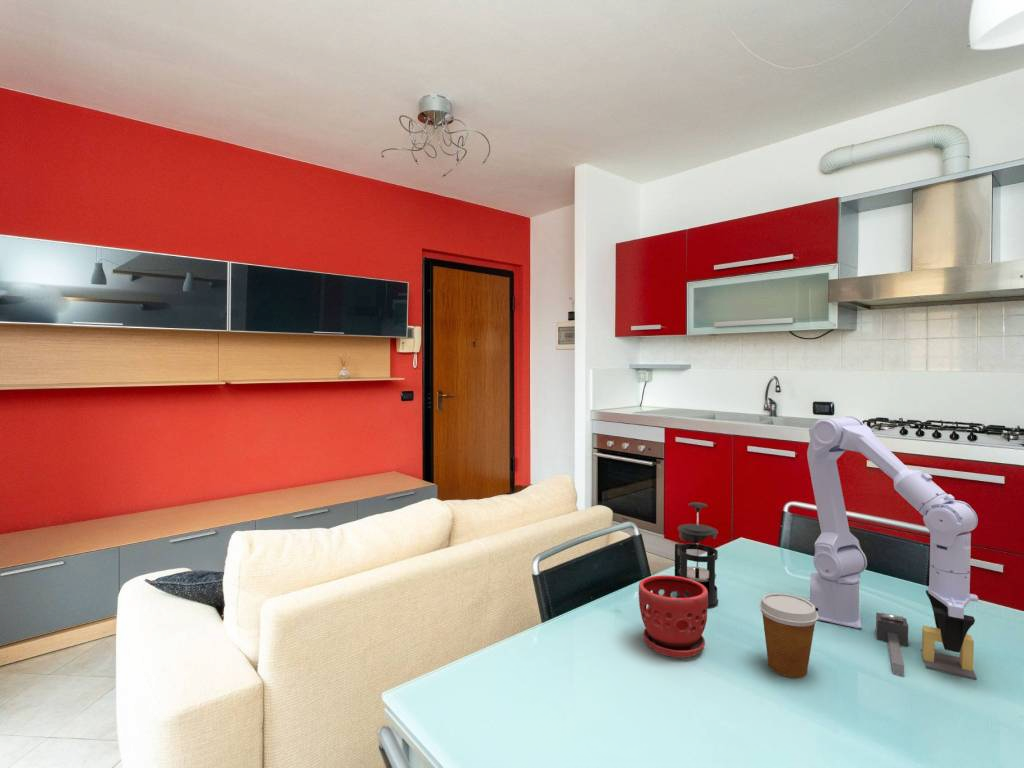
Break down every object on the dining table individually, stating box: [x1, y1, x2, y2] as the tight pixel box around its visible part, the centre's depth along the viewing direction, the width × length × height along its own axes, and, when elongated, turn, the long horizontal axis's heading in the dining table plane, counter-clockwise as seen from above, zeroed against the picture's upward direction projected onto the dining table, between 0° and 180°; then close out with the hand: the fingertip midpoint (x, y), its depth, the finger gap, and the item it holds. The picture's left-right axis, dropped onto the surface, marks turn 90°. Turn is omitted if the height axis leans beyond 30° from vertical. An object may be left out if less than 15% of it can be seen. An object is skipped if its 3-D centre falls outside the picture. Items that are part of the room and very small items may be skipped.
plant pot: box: [638, 574, 709, 658], centre depth 104 cm, size 13×13×12 cm
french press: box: [674, 501, 719, 610], centre depth 124 cm, size 12×9×23 cm
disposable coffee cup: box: [758, 592, 818, 679], centre depth 96 cm, size 10×10×12 cm
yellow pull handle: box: [921, 624, 975, 671], centre depth 97 cm, size 7×2×6 cm, turn 58°
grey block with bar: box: [875, 612, 909, 677], centre depth 101 cm, size 5×17×5 cm, turn 148°
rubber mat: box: [920, 648, 978, 681], centre depth 97 cm, size 7×7×1 cm
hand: (947, 641), depth 97 cm, fingers open, 7 cm apart
